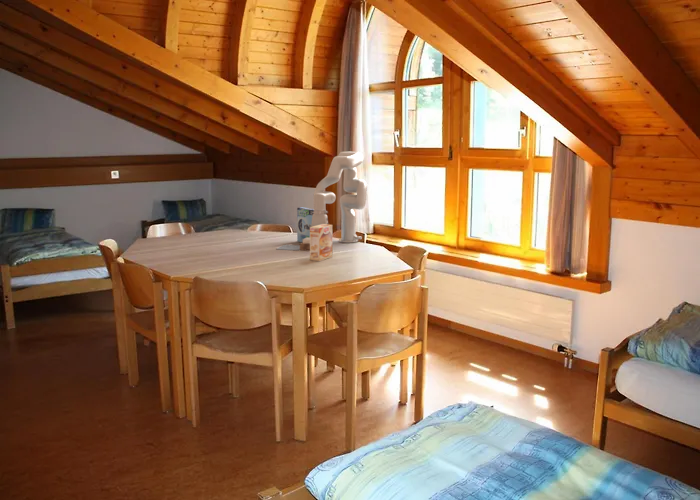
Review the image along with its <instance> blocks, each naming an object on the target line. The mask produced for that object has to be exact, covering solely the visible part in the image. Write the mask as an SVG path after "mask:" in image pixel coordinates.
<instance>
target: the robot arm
mask: <svg viewBox="0 0 700 500" xmlns="http://www.w3.org/2000/svg"><path fill="white" fill-rule="evenodd" d="M363 161H364V155H363V153H362V152H360V151H351V150H350V151H340V152H339V153H338V155H336V156H334V157H333V159H332V161H331V162H330V166H329V168H328V172H327V174H326V176H325V177H324V178H322V179H321V180H320V181H319V182H318V183H317V184H316V187H315V189H314V194H313V209H314V214H313V216H312V224H311V227H313V226H317V225H321V224H329V219H328V215H327V214H329V211H328V210H327V209H326V208H327V207H326V206H327V205H326V204H328V205H331V204H333V203H335V202H336V199H337V196H336V194H335V193H334V192H332V191H325V189H326V188H328V187H329V186H332V185H333V184H336V183H338V182H339V181H340V180H341V176H342V173H343V191H345V192H346V193H345V194H343V195H341V196H340V198H339V206H340V211H341V215H340V216H341V220H340V221H341V222H340V224H341V227H340V228H341V236H340V237H341V238H339V240H338V241H339V242H340V243H346V244H347V243H357V242H358V241H359V240H362V238H363V237H362V236H360V235H359V236H358V235H357V234H356V232H357V231H356V230H357V229H356V226H357V225H356V224H357V223H356V219H357V217H356V213H355V210H363V209H364V208H365V206H366V201H367V190H368V189H367V188H368V186H367V184H368V183H367V182H366V180H365V179H363V178H358V170H357V167H358V166H360V165H361V164H362V163H363ZM347 193H350V194H347ZM351 193H353V194H351Z"/></svg>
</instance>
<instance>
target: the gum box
mask: <svg viewBox="0 0 700 500" xmlns="http://www.w3.org/2000/svg"><path fill="white" fill-rule="evenodd" d="M296 212H297V214H296V215H297V217H296V221H297V223H296V225H297V226H296V229H297V230H296V232H297V234H296V235H297V238H296V240H297V241H296V242H300V243H303V239H305V238H310V227H311V224H312V216H313V214H314V208H311V207H310V208H308V207H301V206H299V207H297V209H296Z"/></svg>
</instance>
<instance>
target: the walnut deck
mask: <svg viewBox="0 0 700 500" xmlns="http://www.w3.org/2000/svg"><path fill="white" fill-rule="evenodd" d="M299 245H300V250H299V251H304V252H305V251H307V252H310V244H308V243H303V242H300V243H299Z"/></svg>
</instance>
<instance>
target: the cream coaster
mask: <svg viewBox="0 0 700 500" xmlns="http://www.w3.org/2000/svg"><path fill="white" fill-rule="evenodd" d="M302 243H308V244H310V238H305V239H303V242H302Z"/></svg>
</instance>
